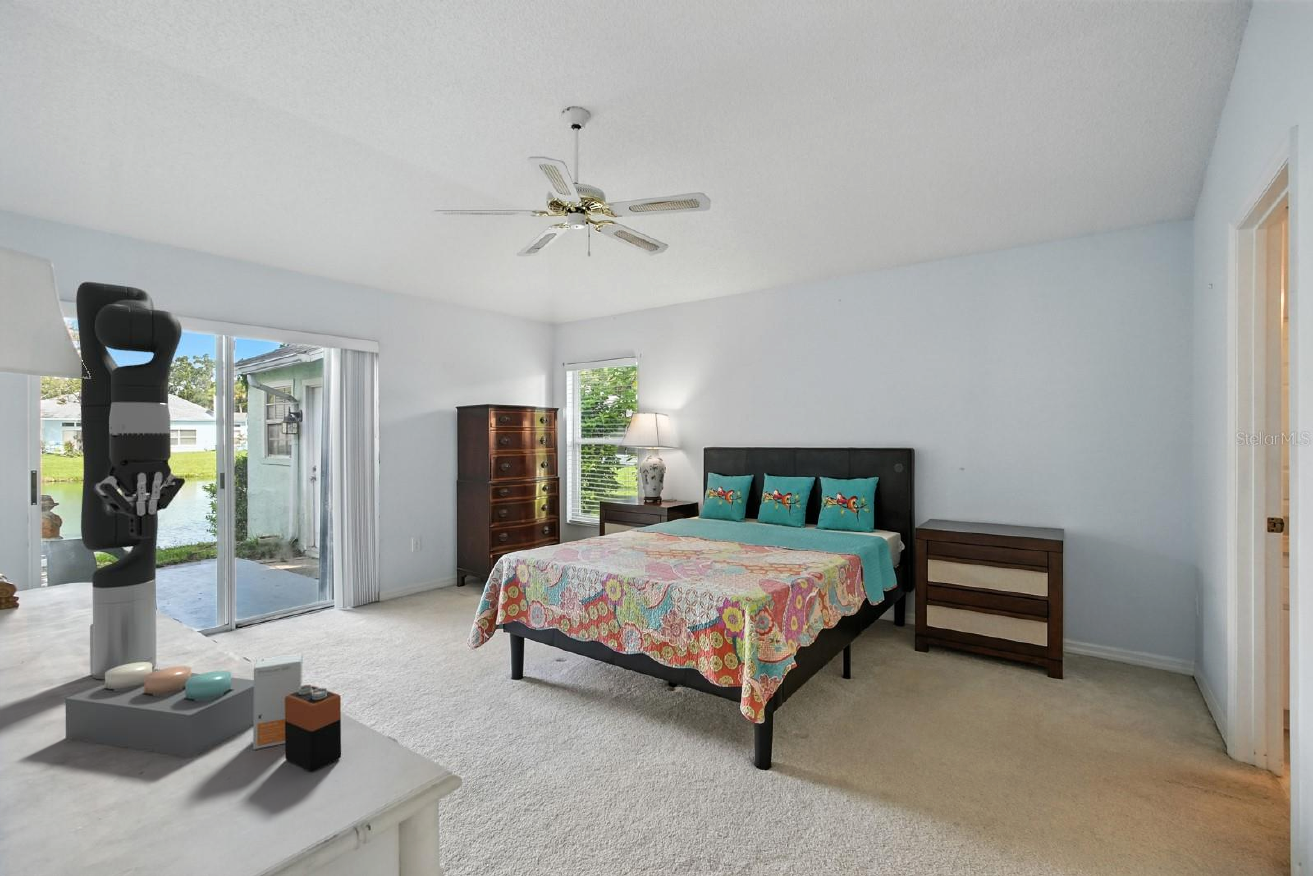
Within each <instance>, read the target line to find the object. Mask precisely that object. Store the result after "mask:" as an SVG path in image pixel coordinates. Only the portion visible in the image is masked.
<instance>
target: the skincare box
mask: <svg viewBox="0 0 1313 876" xmlns="http://www.w3.org/2000/svg"><path fill="white" fill-rule="evenodd" d="M303 657H304V654H303V653H302V652H299V653H293V654H283V655H282V654H281V655H276V656H273V657H265V658H258V659H256V662H255V665H254V668H253V680H254V716H253V725H252V726H253V732H252V733H253V737H252V738H253V740H252V741H253V745H252V747H253V750H258V749H263V748H268V747H273V746H279V745H284V744H285V697H286V696H287V695H290V694H292V693H295V692H298V691H299V688H300V687H301V686H303V667H304V666H303Z"/></svg>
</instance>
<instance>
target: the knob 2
mask: <svg viewBox="0 0 1313 876" xmlns="http://www.w3.org/2000/svg"><path fill="white" fill-rule="evenodd" d="M198 674H199V675H196V676H193V677H191V678H189V679H188V680H187V681H186V682H185V696H186V698H189V699H194V701H198V702H208V701H211V700H213V699H215V698H217V697H220V696H222V695H223V693H224V692H226V691H228V690H229V689H230V688H231V678H232V672H231V671H228V670H214V671H208V672H204V673H203V672H202V673H198Z"/></svg>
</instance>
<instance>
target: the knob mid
mask: <svg viewBox="0 0 1313 876" xmlns="http://www.w3.org/2000/svg"><path fill="white" fill-rule="evenodd" d="M191 670H192V669H191V667H190V666H183V665H182V666H171V667H167V668H161V669H160V670H158V671H155V672H152V673H150V674H148V675H146V676H145V678H144V691H145V693H149V694H153V696H159V697H166V696H168V695H171V694H173V693H176V692H178V691H181V690H183V687H185V682H186V681H187V680H188V679H189V678H191V673H192V671H191Z"/></svg>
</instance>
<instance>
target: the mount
mask: <svg viewBox="0 0 1313 876" xmlns="http://www.w3.org/2000/svg"><path fill="white" fill-rule="evenodd" d="M158 670H161V669H159V668H152V672H155V671H158ZM199 674H200V673H194V672H191V677H193V676H196V675H199ZM253 716H254V679H246V678H238V677H231V688H230V689H229V690H228V691H226V692H224V693H223V695H222V696H220V697H217V698H215V699H213V700H211V701H208V702H198V701H194V699H189V698H186V696H185V687H183V690H181V691H178V692H176V693H173V694H171V695H168V696H166V697H159V696H153V694H149V693H145V691H144V685H142V686H139V687H136V688H134V689H131V690H128V691H126V692H119V691H114V689H109V688H106V687H105V683H104V684H102V685H99V686H96V687H94V688H93V687H92V688H89V689H87V690H85V691H82V692H79V693H76V694H74V695H71V696H68V697H65V739H71V740H76V741H84V742H90V743H95V744H101V745H109V746H114V747H115V746H116V747H122V748H128V749H134V750H140V751H147V752H152V753H161V754H167V755H172V756H178V757H184V758H185V757H186V758H192V757H194V756H196V755H198V754H200V753H202V752H204V751H206V750H207V749H210V748H211V747H213V746H215V745H217V744H219V743H221V742H222V741H225V740H227V739H229V738H230V737H232V736H234V735H236V734H239V733H240V732H242V731H244V730H246V729H247V728H249V727H250V728H251V727H252V726H253Z"/></svg>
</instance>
